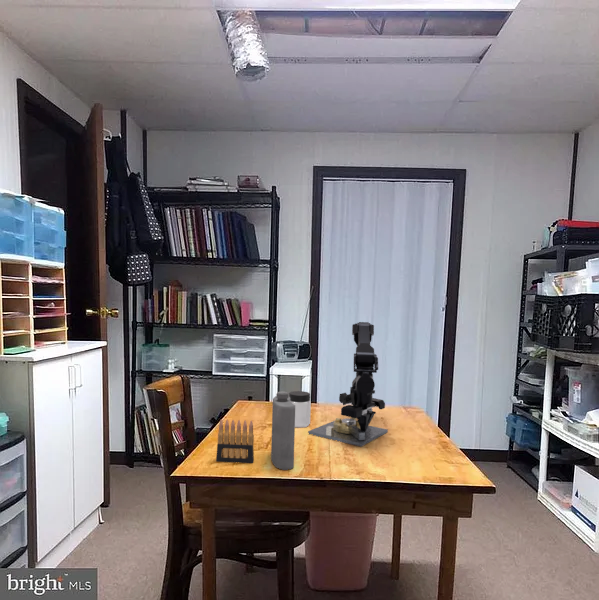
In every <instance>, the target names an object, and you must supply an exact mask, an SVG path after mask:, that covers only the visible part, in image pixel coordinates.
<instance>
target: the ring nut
mask: <svg viewBox="0 0 599 600" xmlns="http://www.w3.org/2000/svg"><path fill="white" fill-rule="evenodd" d="M349 419H354V420H356V425H350V426H348V425H347V423H344V422H343V423H342V418H339V417H337V418H335V419H334V420H333V421H334V430H336V431H337V432H339V433H345V434H352V435H353V436H354V437H356V438H357V439H358V440H365V432H364V431H362V430H361V429H360V425H359V422H358V419H357V418H352V417H349Z"/></svg>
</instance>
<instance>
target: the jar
mask: <svg viewBox="0 0 599 600" xmlns="http://www.w3.org/2000/svg"><path fill="white" fill-rule="evenodd" d="M288 396H289V397H290V402H291V403H293V404H294V405H295V428H307V427H308V426H310V425H311V411H312V410H311V406H312V403H311V402H312V401H311V393H310V392H309V391H301V390H297V391H293V390H292V391H290V392H289V393H288ZM309 424H310V425H309Z"/></svg>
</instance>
